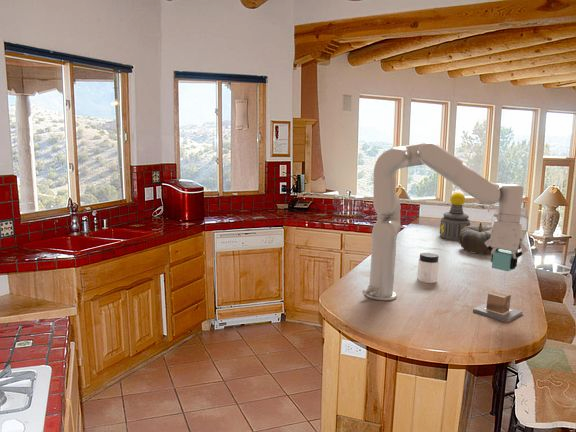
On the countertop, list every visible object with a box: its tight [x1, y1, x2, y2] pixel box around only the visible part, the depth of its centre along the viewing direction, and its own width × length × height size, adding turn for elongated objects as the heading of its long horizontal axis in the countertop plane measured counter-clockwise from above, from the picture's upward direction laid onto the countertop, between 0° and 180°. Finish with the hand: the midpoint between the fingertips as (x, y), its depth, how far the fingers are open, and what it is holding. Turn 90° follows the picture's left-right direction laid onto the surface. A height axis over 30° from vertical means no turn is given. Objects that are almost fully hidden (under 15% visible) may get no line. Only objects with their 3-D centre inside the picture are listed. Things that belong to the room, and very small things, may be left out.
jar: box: [416, 252, 440, 284], centre depth 218 cm, size 9×8×12 cm
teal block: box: [491, 249, 516, 272], centre depth 177 cm, size 6×6×6 cm
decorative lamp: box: [439, 192, 471, 241], centre depth 315 cm, size 19×19×30 cm
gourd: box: [458, 222, 493, 256], centre depth 278 cm, size 25×25×17 cm
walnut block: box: [486, 290, 512, 313], centre depth 180 cm, size 6×6×6 cm
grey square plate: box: [472, 302, 524, 323], centre depth 180 cm, size 13×13×1 cm
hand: (503, 266), depth 177 cm, fingers closed on teal block, 6 cm apart
